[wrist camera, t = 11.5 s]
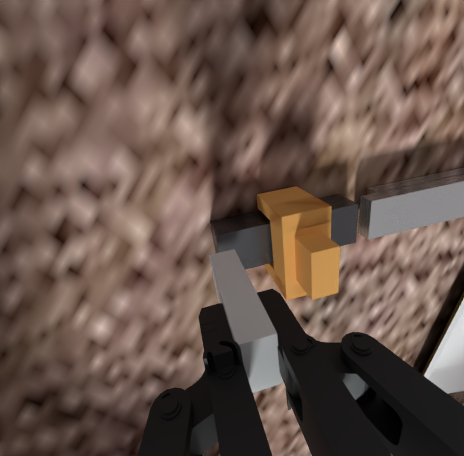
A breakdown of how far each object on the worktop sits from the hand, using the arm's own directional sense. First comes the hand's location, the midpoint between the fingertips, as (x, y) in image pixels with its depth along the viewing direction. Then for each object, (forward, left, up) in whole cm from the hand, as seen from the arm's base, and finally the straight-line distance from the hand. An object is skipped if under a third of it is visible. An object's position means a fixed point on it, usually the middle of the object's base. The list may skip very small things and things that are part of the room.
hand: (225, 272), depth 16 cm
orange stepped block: (+5, 0, -5) cm, 7 cm away
